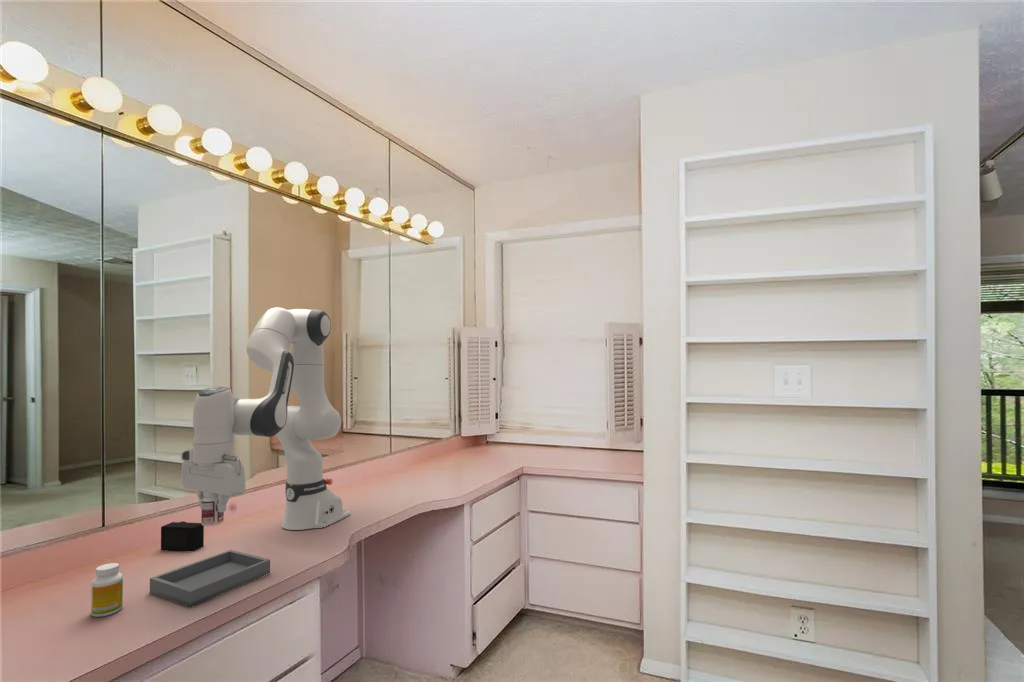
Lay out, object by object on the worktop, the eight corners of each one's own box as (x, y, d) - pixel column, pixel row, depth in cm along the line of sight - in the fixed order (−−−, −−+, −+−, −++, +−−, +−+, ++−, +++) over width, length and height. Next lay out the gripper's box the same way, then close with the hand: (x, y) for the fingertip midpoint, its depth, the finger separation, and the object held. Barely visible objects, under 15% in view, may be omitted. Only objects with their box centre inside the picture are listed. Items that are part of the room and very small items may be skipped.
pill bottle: (219, 519, 129) (219, 485, 129) (226, 522, 125) (227, 488, 126) (198, 524, 125) (198, 489, 125) (205, 527, 122) (205, 492, 122)
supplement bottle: (125, 610, 111) (125, 565, 112) (93, 620, 107) (94, 573, 108) (119, 603, 115) (120, 559, 115) (88, 612, 111) (89, 566, 111)
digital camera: (207, 545, 151) (207, 521, 151) (193, 552, 146) (193, 527, 146) (175, 544, 153) (175, 520, 153) (160, 550, 147) (160, 526, 147)
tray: (230, 562, 137) (230, 549, 137) (270, 573, 130) (270, 559, 130) (149, 593, 120) (149, 578, 120) (190, 607, 112) (190, 591, 112)
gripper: (252, 454, 124) (252, 511, 123) (201, 448, 133) (201, 502, 133) (227, 458, 118) (227, 519, 118) (176, 452, 128) (175, 508, 127)
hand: (213, 510), depth 125 cm, fingers closed on pill bottle, 5 cm apart
